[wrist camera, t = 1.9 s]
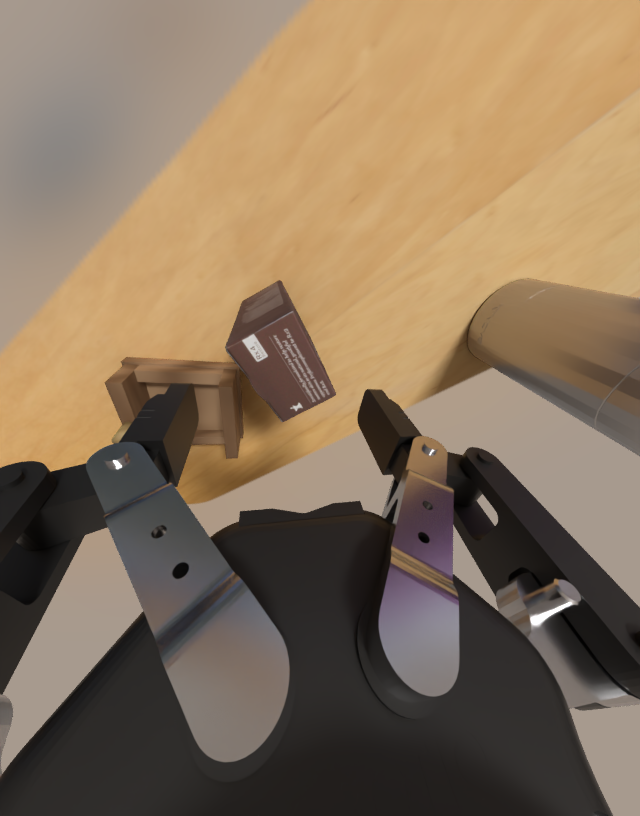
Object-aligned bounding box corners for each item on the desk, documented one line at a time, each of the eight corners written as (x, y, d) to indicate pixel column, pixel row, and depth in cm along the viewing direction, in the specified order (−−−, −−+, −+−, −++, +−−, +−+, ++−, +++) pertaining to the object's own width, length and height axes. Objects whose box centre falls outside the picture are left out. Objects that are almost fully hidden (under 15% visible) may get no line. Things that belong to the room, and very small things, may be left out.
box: (312, 333, 25) (339, 397, 15) (274, 353, 25) (277, 427, 16) (282, 274, 21) (294, 309, 12) (239, 299, 22) (216, 351, 12)
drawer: (239, 363, 25) (232, 397, 20) (243, 432, 31) (238, 473, 26) (126, 357, 23) (84, 393, 18) (152, 433, 28) (126, 478, 23)
